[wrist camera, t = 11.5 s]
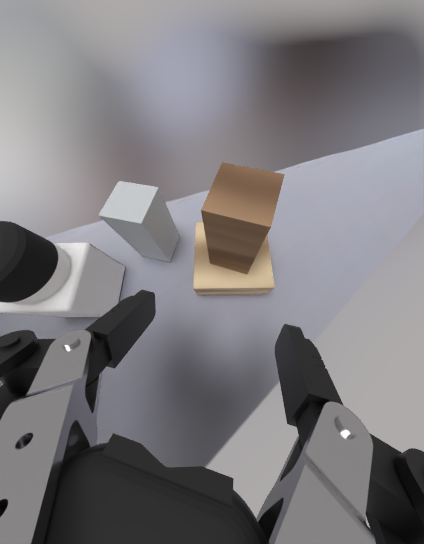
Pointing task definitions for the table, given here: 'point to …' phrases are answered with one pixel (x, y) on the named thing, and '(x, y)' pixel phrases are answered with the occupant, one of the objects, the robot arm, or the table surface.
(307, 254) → the table surface
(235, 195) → the walnut block
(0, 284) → the medicine bottle
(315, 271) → the table surface
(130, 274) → the table surface
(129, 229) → the grey block
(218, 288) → the oak base block
